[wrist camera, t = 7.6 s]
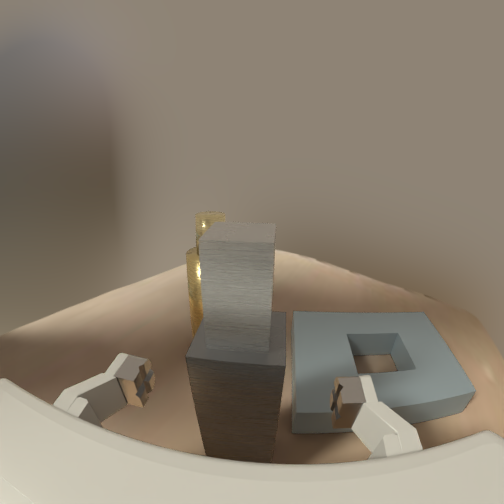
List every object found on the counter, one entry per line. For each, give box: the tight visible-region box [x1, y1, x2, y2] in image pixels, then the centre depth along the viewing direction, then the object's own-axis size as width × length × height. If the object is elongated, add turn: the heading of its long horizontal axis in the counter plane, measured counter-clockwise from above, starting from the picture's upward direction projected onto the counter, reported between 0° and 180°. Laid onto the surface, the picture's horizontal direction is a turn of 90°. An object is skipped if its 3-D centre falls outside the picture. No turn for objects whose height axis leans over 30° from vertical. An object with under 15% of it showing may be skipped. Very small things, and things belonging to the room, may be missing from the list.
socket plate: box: [291, 311, 476, 433], centre depth 20 cm, size 14×12×2 cm
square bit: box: [186, 222, 286, 463], centre depth 11 cm, size 3×3×14 cm
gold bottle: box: [186, 211, 225, 339], centre depth 22 cm, size 4×4×12 cm
